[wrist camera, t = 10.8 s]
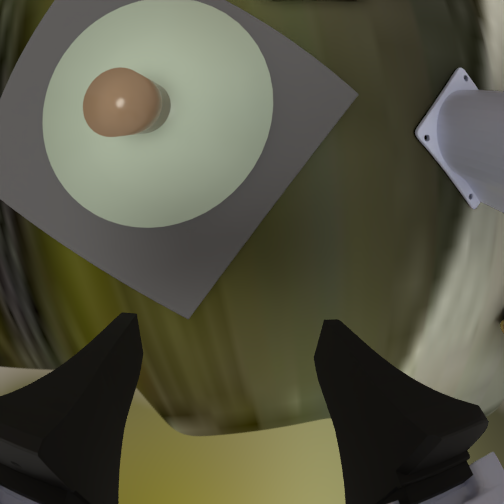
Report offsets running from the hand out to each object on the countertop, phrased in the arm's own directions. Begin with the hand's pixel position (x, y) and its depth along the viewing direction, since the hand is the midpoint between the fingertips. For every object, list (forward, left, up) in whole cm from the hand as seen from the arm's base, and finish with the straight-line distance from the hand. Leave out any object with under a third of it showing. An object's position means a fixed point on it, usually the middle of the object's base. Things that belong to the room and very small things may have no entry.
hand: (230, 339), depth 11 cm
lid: (+9, -5, -10) cm, 14 cm away
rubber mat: (+10, -3, -10) cm, 15 cm away
